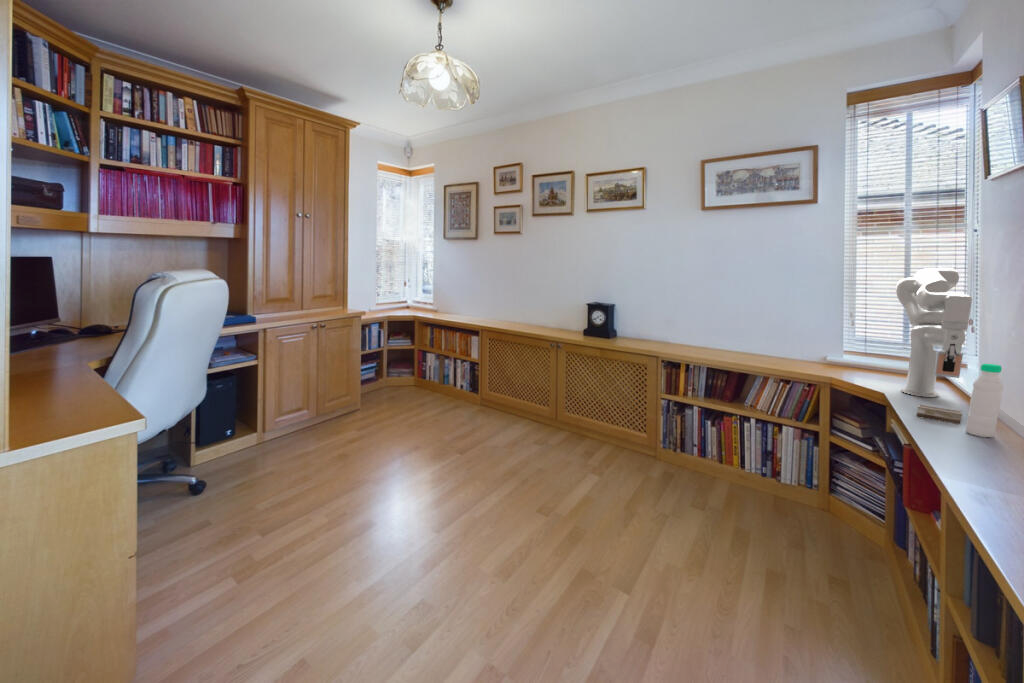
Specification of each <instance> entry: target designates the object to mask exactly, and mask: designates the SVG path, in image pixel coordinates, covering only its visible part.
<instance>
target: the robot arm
mask: <svg viewBox="0 0 1024 683" xmlns="http://www.w3.org/2000/svg"><path fill="white" fill-rule="evenodd" d="M959 279H960V274H959V272H958V270H956V269H954V268H952V267H951V268H950V267H948V268H947V267H944V268H943V267H938V268H932V267H931V268H922V269H920V270H918V271H917V272H916V273H915V274H914V275H913V277H906V278H903V279H900V280H899V281H898V282H897V284H896V287H895V293H896V297H897V299H898V301H899V302H900V304H901V305H902V306H903V308H904V310H905V312H906V316H907V318H908V320H909V323H910V326H912V329H911V330H910V356H909V357H910V358H909V363H908V371H907V378H906V384H905V387H902V388H901V389H900V391H901V392H902V393H903V392H904V393H903V394H906V393H907V394H906V395H909V394H911V395H910V396H914V395H915V397H921V396H922V397H923V398H937V397H939V392H937V391H935V387H936V383H937V382H936V381H937V376H935V375H934V369H935V363H936V356H937V351H936V350H935V349H934V348H942V349H941V350H943V352H944V354H946V356H945V361H944V364H943V371H947V372H954V367H955V356H956V353H957V354H959V355H961V351H962V348H963V345H964V344H965V341H966V333H965V332H966V331H968V326H969V321H970V320H969V319H970V315H971V314H970V313H971V309H972V301H973V297H972V296H971V295H968V294H964V293H961V292H960V293H959V292H948V291H950V290H952V289H953V288H954V287H956V286H957V284H958V283H959ZM947 352H948V353H950V354H947ZM922 397H921V398H922Z"/></svg>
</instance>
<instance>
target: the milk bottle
mask: <svg viewBox="0 0 1024 683" xmlns="http://www.w3.org/2000/svg"><path fill="white" fill-rule="evenodd" d="M980 372H981V374H980V375H979V376H977V379H975V380H974V381H973V383H972V387H973V388H972V392H971V396H970V401H969V413H968V414H967V422H966V425H965V432H966V433H967V434H969V435H971V434H972V436H974V435H975V436H976V437H979V436H980V437H979V438H986V437H990V438H993V437H995V435H996V427H997V424H998V414H999V411H1000V407H1001V403H1002V402H1001V401H1002V393H1003V389H1004V385H1003V383H1002V381H1001V378H1000V377H999V375H1000V374H1001V373H1002V366H1001V365H999V364H995V363H981V365H980Z"/></svg>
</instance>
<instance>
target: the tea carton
mask: <svg viewBox="0 0 1024 683" xmlns="http://www.w3.org/2000/svg"><path fill="white" fill-rule="evenodd" d="M936 353H937V356H936V363H935V369H934V375H935V376H936V377H945V378H954V379H960V374H961V370H962V369H961V368H962V363H963V357H964V352H962V350H961V355H959V354H957V353H956V356H955V367H954V372H947V371H943V364H944V361H945V356H946V354H944V352H943V350H942V349H937V351H936ZM947 354H950V353H948V352H947Z"/></svg>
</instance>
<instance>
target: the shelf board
mask: <svg viewBox="0 0 1024 683" xmlns="http://www.w3.org/2000/svg"><path fill="white" fill-rule="evenodd" d="M962 414H963V413H962V410H955V409H950V408H949V409H948V408H942V407H936V406H931V405H923V404H920V405H917V409H916V416H918V417H917V418H921V417H923V418H922V419H927V418H929V420H933V419H934V421H938V420H940V422H944V421H945V423H950V422H951V423H950V424H956V425H961V421H962Z"/></svg>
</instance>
